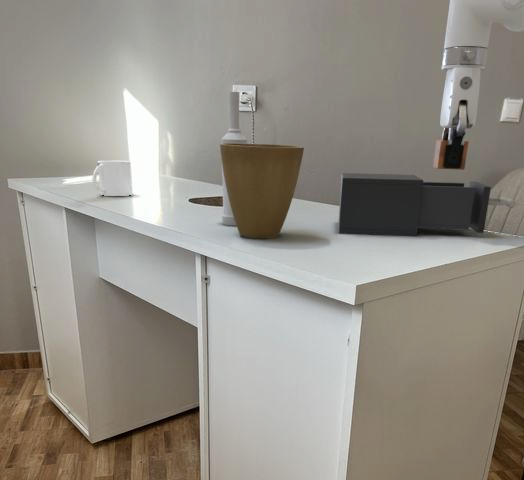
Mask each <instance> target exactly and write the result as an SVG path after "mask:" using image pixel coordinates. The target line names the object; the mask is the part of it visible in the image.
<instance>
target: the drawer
mask: <svg viewBox="0 0 524 480" xmlns="http://www.w3.org/2000/svg"><path fill="white" fill-rule="evenodd" d="M491 190H492V187H491V186H489V185H487V184H484V183H481V182H478V181H469V186H465V183H464V182H447V181H446V182H442V181H438V182H437V181H423V188H422V196H421V205H420V213H419V221H418V229H428V230H429V229H432V230H433V229H434V230H460V231H469V230H470V229H471V230H472V231H474V232H475V233H477V234H484V233H485V227H486V226H485V225H486V220H487V215H488V208H489V206H506V207H508V208H510V209H514V208H515V207H516V206H517V201H516V200H514V199H512V198H509V197H507V196H504V195H502V196H499V197H497V198H496V197H490V196H491Z"/></svg>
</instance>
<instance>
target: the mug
mask: <svg viewBox="0 0 524 480" xmlns="http://www.w3.org/2000/svg"><path fill="white" fill-rule="evenodd" d="M97 177H98V181H99V185H98V184H97ZM132 177H133V176H132V165H131V161H130V160H119V159H117V160H116V159H115V160H114V159H113V160H111V159H110V160H97V165H96V167H95V168H94V170H93V173H92V179H91V180H92V186H93V188H95V190H96V191H97V192H98V193H100V196H102V195H104V196H103V197H106V196H125V197H130V196H129V195H131V196H133V194H134V193H133V191H134V190H133V179H132ZM102 192H103V193H102Z"/></svg>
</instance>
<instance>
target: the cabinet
mask: <svg viewBox="0 0 524 480" xmlns="http://www.w3.org/2000/svg"><path fill="white" fill-rule="evenodd" d="M340 179H341V180H340V192H339V193H340V195H339V207H338V208H339V209H338V223H337V224H338V234H347V235H348V234H349V235H350V234H351V235H375V236H377V235H378V236H403V237H404V236H405V237H418V236H417V235H418V229H419V228H418V221H419V213H420V205H421V196H422V188H423V182H424V179H422V178H420V177H419V176H417V175H415V174H393V173H391V174H390V173H359V172H356V173H355V172H354V173H353V172H342V173H341V178H340Z"/></svg>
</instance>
